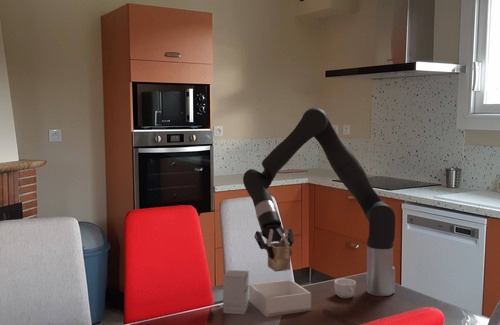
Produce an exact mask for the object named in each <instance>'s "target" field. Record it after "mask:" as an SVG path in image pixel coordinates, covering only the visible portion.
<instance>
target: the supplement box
mask: <svg viewBox="0 0 500 325" xmlns="http://www.w3.org/2000/svg"><path fill="white" fill-rule="evenodd" d="M249 272H250V271H248V270H235V269H233V270H232V269H229V270H227V271H226V272H225V274H224V275H223V277H222V280H223V282H222V284H223V286H222V291H223V292H222V294H223V298H222V299H223V300H222V302H223V305H222V306H223V311H222V312H223V314H229V315H230V314H231V315H232V314H233V315H245V314H246V312H247V309H248V308H249V307H250V306H249V304H250V302H249V284H250V280H249V274H250V273H249Z"/></svg>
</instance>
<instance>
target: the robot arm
mask: <svg viewBox="0 0 500 325" xmlns="http://www.w3.org/2000/svg"><path fill="white" fill-rule="evenodd" d="M312 138H315V140H316V141H317V142H318V143H319V145H320V146H321V148H322V151H323V152H324V154H325V156H326V159H327V160H328V164H329V165H330V166H331V168H332V170H333V171H334V173H335V175H336V176H337V177H338V179H339V180H340V181H341V183H342V184H343V185H344V187H345V188H346V189H347V190H348V191H349V192H350V194H351V195H352V196H353V197H354V198H355V200H356V202H357V203H358V205H359V206H360V208H361V209H362V212H363V214H364V216H365V218H366V221H367V222H369V223H368V236H367V240H366V243H367V244H366V293H367V294H369V295H372V296H375V297H376V296H377V297H388V296H391V295H393V294H395V292H396V267H395V266H394V241H395V237H396V214H395V211H394V209H393V208H392V207H391V206H390V205H388V204H387V203H385V201H384V200H383V199H382V198H381V197H380V196H379V195H378V194H377V192H376V191H375V190H374V188H373V187H372V184H371V183H370V180H369V178H368V176H367V174H366V172H365V169H364V168H363V166H362V165H361V163H360V162H359V160H358V159H357V157H356V156H355V155H354V153H353V152H352V150H351V149H350V147H348V145H347V144H346V142H344V141H343V140H342V139H341V137H340V136H339V135H338V133H337V132H336V130H335V128H334V126H333V125H332V123H331V121H330V119H329V117H328V115H327V113H326V111H325V110H323V108H322V109H321V108H320V107H310V108H308V109H307V110H306V111H304V113H303V115H302V117H301V119H300V121H299V122H298V123H297V125H296V126H295V127H294V129H293V130H292V131H291V132H290V133H289V134H288V136H287V137H285V138H284V139H283V140H282V141H281V142H280V143H278V145H277V146H276V147H274V148H273V149H272V150H271V152H269V153H268V154H267V156H266V157H265V158H264V159H263V160H262V162H261V166H262V168H263V171H262V172H260V171H259V170H257V169H253V168H251V169H248V170H245V172H244V174H243V177H242V182H243V183H242V184H243V185H244V188H245V190H246V192H247V194H248V195H249V197H250V198H251V200H252V203H253V206H254V209H255V214H256V218H257V222H258V225H259V227H260V230H261V231H259V230H256V231H255V233H254V239H255V241H256V242H257V245H258V246H259V249H260V250H266V253H267V258H268V257H269V258H271V259H273V258H274V253H273V250H272V247H271V243H285V244H286V245H288V246H290V257H291V256H292V254H293V252H292V249H291V247H292V246H293V244H294V242H295V241H294V234H293V233H294V232H293V229H292V228H289V229H285V228H284V227H283V226H282V222H281V219H280V215H279V212H278V210H277V207H276V205H275V203H274V200H273V198H272V194H271V193H270V191H268V189H269V188H270V186H271V184H272V183H273V181H274V179H275V177H276V175H277V174H278V173H279V172H280V171H281V169H282V168H283V167H284V166H285V165H286V164H287V163H288V162H289V161H290V160H291V159H292V158H293V157H294V155H295V154H296V153H297V152H298V151H299V150H300V149H301V148H302V147H303V146H304V145H305V144H306V143H307V142H308V141H310V140H312ZM263 237H264V238H265V239H266V241H265V240H264V238H263ZM265 242H266V243H265Z"/></svg>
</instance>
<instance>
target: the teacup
mask: <svg viewBox="0 0 500 325" xmlns="http://www.w3.org/2000/svg"><path fill="white" fill-rule="evenodd" d="M333 286H334V293H335V294H336V295H337V296H338V297H339V298H341V299H350V298H352V297H354V295H355V294H356V289H357V282H356V280H354V279H350V278H343V277H342V278H336V279H335V280H334V284H333Z"/></svg>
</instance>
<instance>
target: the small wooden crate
mask: <svg viewBox="0 0 500 325" xmlns="http://www.w3.org/2000/svg"><path fill="white" fill-rule="evenodd" d="M271 247H272V250H273V253H274V258H273V259H271V258H269V257H268V256H267V267H268V269H271V270H272V271H273V272H276V273H277V272H284V271H285V272H286V271H291V256H290V248H291V247H290V246H288V245H286V244H285V243H279V242H271Z"/></svg>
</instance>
